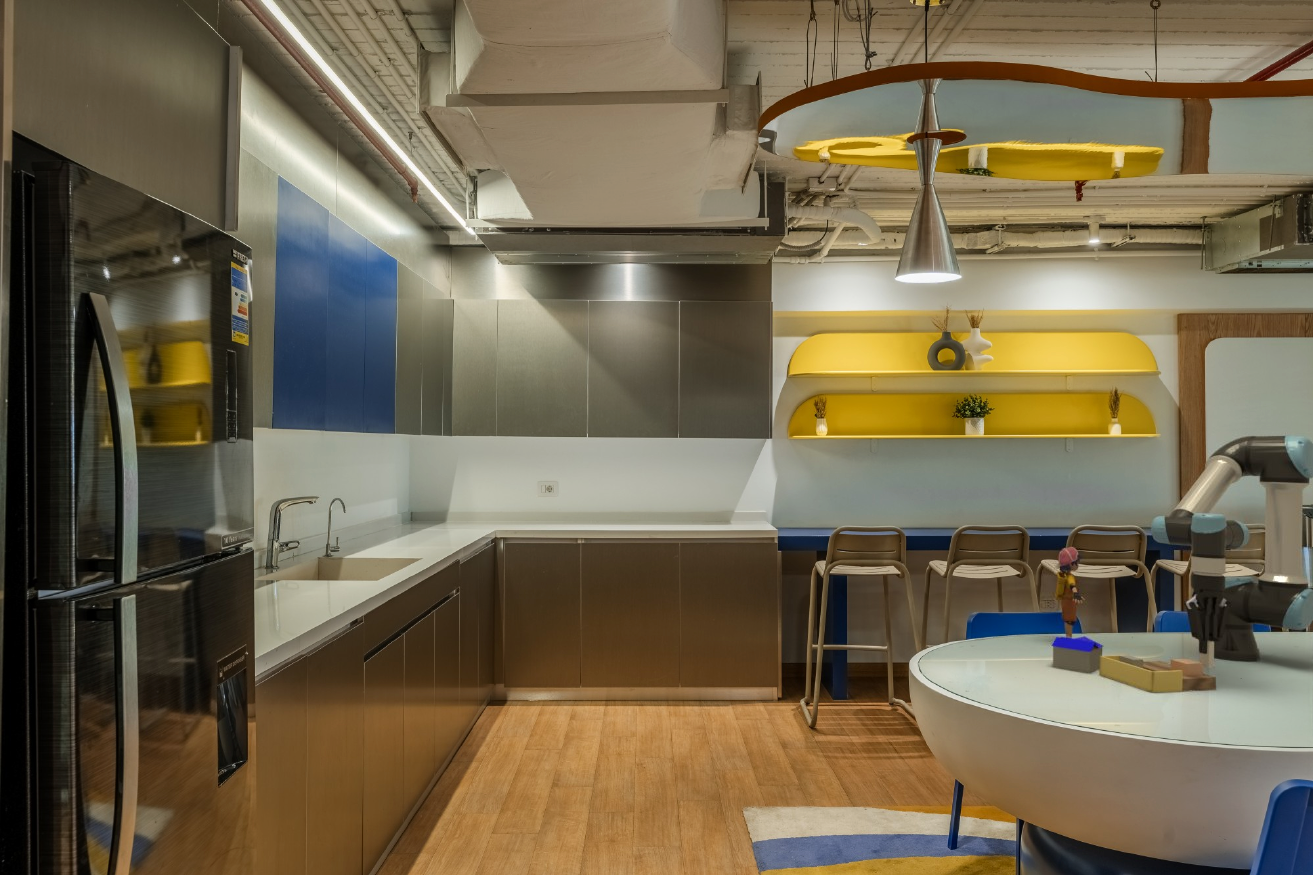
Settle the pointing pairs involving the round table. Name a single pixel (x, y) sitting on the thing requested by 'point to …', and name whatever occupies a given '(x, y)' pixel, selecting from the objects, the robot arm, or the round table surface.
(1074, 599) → the toy
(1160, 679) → the yellow tray
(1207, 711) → the round table surface
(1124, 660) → the grey square block
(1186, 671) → the peach block
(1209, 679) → the walnut board
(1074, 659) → the house
